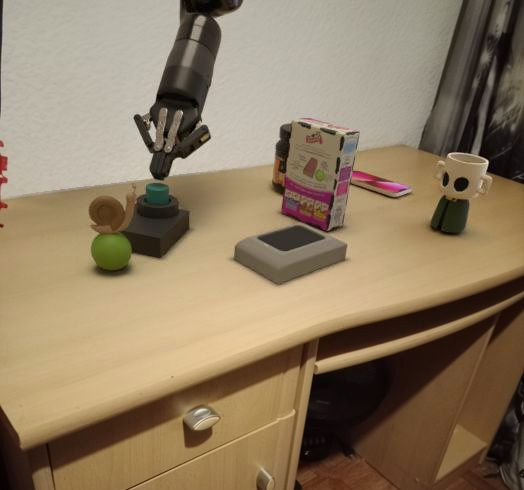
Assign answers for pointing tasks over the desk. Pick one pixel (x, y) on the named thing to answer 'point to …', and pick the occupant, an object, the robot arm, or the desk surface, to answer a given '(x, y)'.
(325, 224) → the candy bar box
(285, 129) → the supplement container
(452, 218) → the character mug
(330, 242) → the grey bevelled block
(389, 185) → the smartphone
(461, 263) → the desk surface
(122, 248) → the snail figurine
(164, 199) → the push button
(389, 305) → the desk surface
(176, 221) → the black button base
